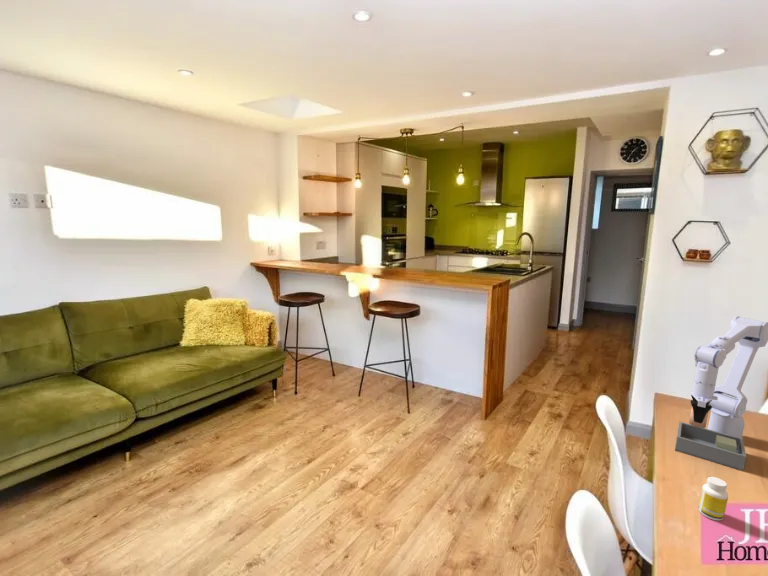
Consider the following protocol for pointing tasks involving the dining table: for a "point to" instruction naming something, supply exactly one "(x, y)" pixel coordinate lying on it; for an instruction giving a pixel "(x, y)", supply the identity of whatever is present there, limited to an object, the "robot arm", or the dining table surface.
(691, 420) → the terracotta cylinder
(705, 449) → the tote
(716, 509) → the supplement bottle
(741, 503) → the dining table surface
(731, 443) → the green block
